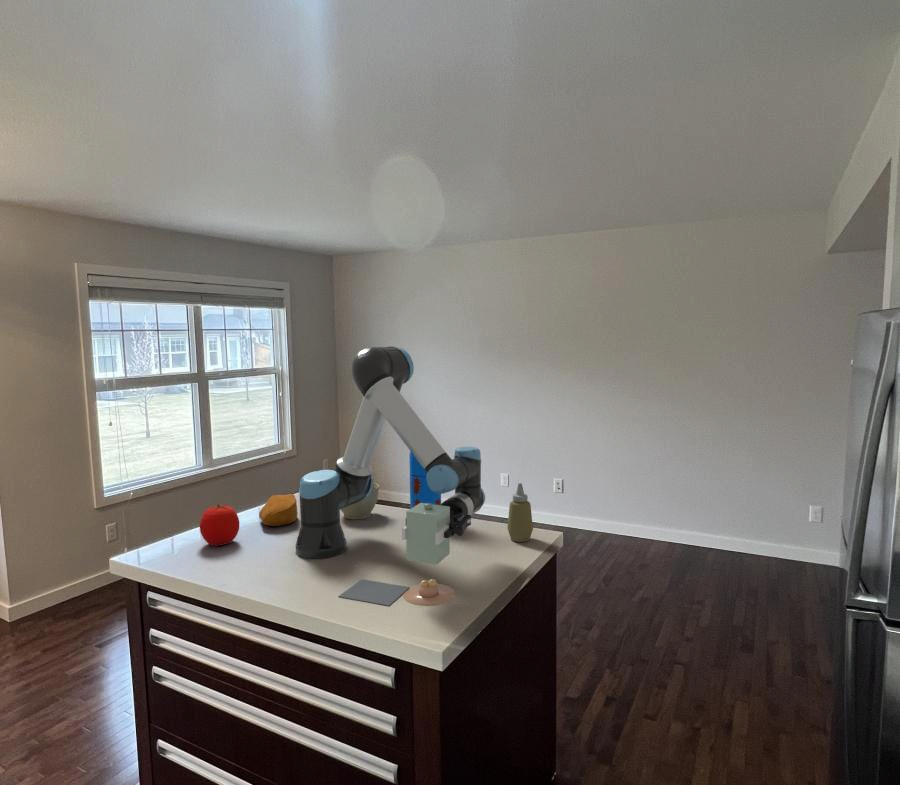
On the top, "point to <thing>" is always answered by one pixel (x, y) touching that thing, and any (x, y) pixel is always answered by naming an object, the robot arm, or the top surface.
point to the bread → (279, 510)
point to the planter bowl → (362, 506)
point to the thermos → (420, 485)
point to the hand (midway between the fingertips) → (420, 536)
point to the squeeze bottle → (520, 517)
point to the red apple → (219, 525)
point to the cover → (426, 533)
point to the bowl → (429, 593)
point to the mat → (374, 592)
